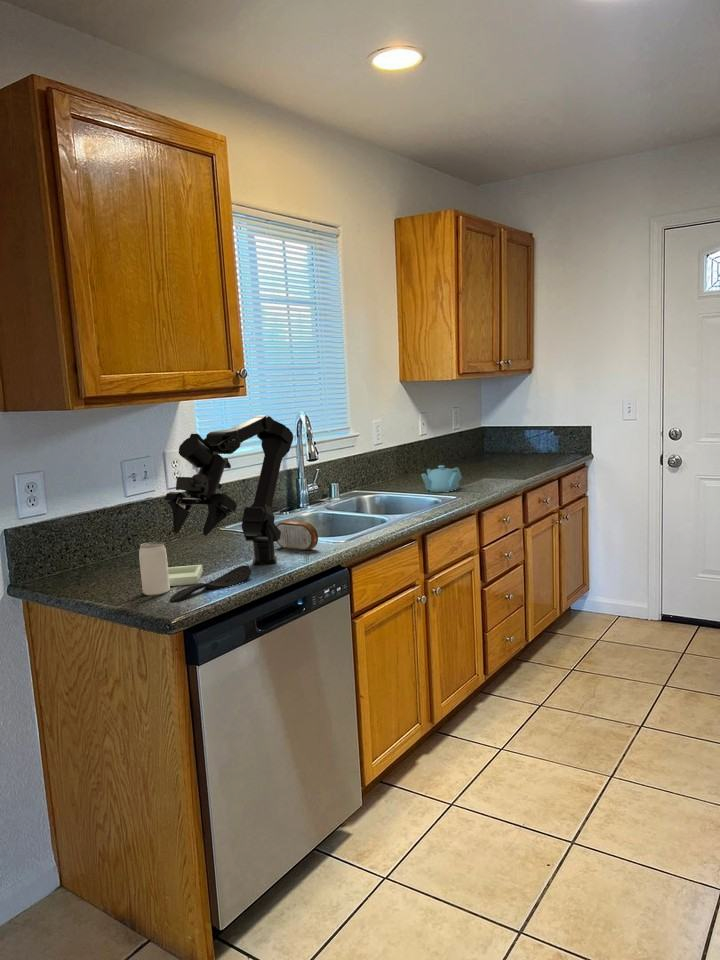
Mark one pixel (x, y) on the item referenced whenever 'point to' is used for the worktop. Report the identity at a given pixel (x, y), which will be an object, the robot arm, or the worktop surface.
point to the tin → (297, 535)
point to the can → (154, 568)
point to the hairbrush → (216, 582)
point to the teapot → (442, 479)
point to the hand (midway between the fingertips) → (189, 534)
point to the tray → (184, 575)
